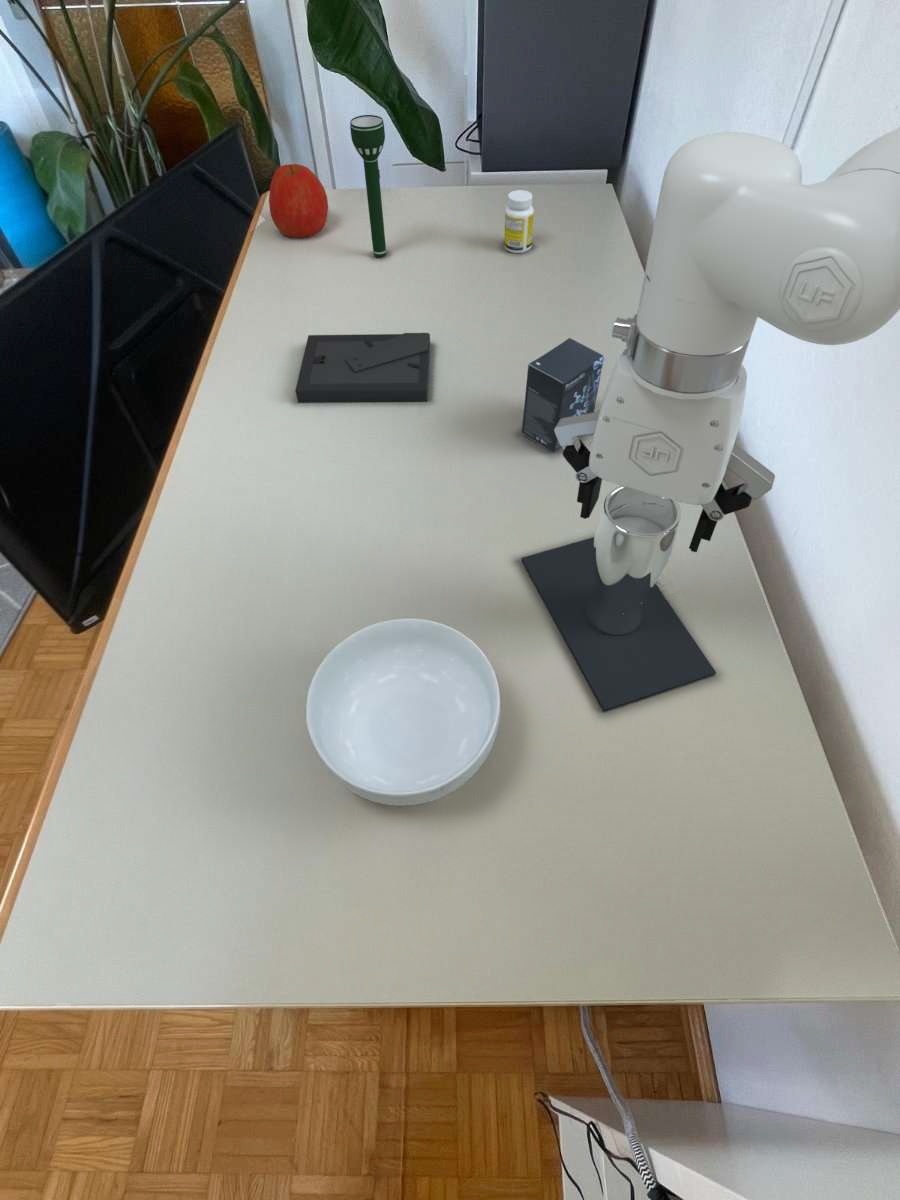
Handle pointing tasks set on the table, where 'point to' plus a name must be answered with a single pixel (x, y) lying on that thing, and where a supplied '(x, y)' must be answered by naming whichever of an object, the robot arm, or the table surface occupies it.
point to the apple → (297, 201)
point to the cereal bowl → (403, 711)
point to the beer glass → (629, 557)
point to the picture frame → (365, 368)
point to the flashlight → (371, 172)
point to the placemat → (608, 661)
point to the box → (560, 390)
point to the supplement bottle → (518, 222)
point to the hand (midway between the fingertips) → (641, 524)
